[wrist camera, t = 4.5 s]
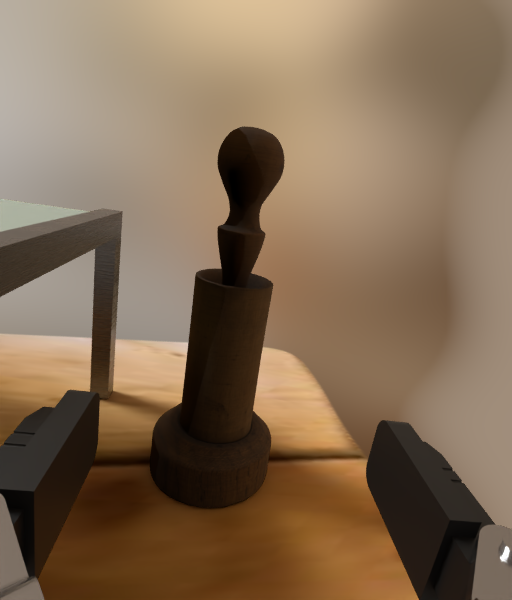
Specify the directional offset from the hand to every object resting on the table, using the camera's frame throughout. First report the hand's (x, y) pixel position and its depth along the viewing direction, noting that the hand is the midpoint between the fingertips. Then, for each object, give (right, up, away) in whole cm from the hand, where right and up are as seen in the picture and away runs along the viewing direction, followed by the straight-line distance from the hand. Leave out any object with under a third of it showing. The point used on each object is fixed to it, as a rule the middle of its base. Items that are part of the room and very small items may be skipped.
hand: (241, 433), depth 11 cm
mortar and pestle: (-2, -6, +11) cm, 13 cm away
